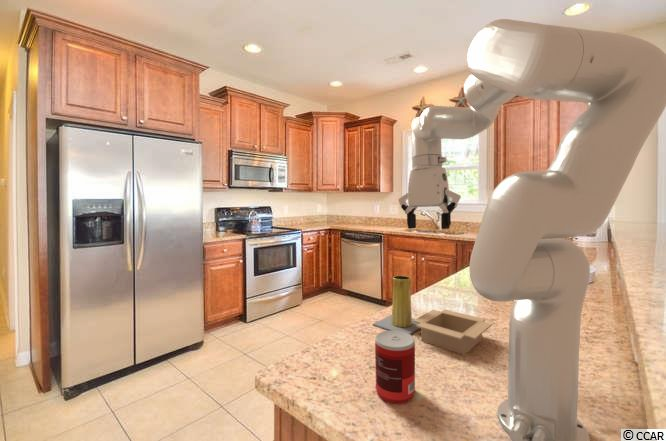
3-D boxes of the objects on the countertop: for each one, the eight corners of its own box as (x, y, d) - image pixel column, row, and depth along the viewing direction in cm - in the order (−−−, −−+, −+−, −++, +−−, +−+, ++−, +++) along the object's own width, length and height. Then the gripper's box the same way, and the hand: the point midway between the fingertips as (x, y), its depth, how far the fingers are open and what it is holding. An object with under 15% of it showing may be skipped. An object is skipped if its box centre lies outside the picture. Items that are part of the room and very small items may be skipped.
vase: (412, 328, 93) (412, 280, 92) (391, 327, 94) (391, 279, 93) (411, 320, 99) (411, 275, 98) (391, 319, 100) (391, 274, 99)
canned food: (408, 380, 67) (408, 329, 66) (420, 404, 59) (420, 346, 58) (372, 381, 67) (372, 330, 66) (379, 405, 59) (378, 348, 58)
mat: (407, 336, 88) (407, 334, 88) (372, 325, 97) (372, 323, 97) (428, 324, 97) (428, 322, 97) (395, 314, 105) (395, 313, 105)
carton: (470, 362, 74) (470, 341, 74) (408, 341, 86) (408, 323, 85) (495, 339, 86) (495, 321, 85) (437, 323, 97) (437, 307, 97)
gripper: (465, 161, 81) (466, 228, 81) (405, 169, 93) (407, 227, 93) (452, 158, 76) (454, 229, 76) (391, 167, 88) (392, 228, 88)
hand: (428, 228), depth 85 cm, fingers open, 9 cm apart
